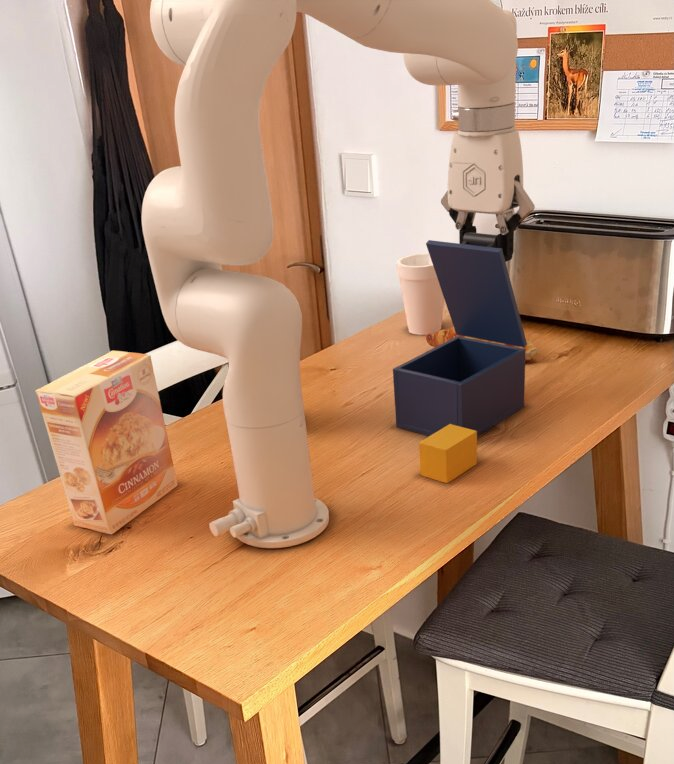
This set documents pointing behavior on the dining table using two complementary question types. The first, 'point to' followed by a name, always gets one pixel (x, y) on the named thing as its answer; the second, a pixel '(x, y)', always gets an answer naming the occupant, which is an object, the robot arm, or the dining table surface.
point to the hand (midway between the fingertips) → (486, 257)
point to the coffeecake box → (109, 439)
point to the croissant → (447, 335)
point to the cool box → (459, 386)
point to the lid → (477, 289)
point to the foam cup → (420, 293)
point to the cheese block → (448, 453)
